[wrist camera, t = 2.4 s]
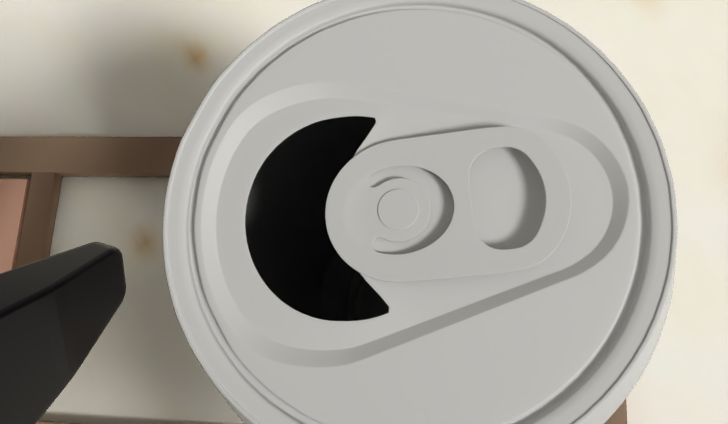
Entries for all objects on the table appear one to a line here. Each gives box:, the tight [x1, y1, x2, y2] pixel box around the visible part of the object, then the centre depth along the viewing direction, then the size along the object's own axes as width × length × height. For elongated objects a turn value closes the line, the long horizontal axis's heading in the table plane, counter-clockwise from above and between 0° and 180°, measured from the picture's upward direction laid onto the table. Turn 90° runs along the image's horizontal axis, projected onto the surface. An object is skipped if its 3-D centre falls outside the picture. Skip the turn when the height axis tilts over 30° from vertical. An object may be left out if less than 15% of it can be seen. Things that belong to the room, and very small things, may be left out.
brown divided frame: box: [0, 137, 627, 424], centre depth 20 cm, size 27×10×1 cm, turn 87°
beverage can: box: [163, 0, 678, 424], centre depth 13 cm, size 6×6×12 cm
